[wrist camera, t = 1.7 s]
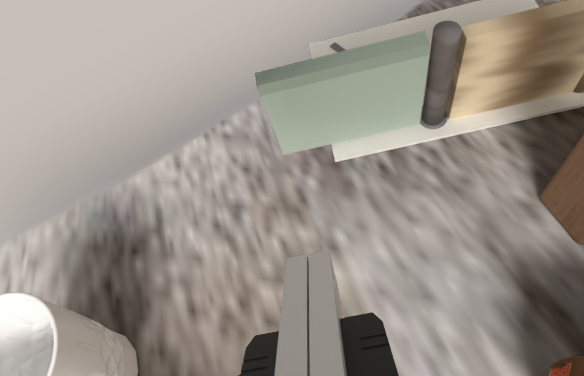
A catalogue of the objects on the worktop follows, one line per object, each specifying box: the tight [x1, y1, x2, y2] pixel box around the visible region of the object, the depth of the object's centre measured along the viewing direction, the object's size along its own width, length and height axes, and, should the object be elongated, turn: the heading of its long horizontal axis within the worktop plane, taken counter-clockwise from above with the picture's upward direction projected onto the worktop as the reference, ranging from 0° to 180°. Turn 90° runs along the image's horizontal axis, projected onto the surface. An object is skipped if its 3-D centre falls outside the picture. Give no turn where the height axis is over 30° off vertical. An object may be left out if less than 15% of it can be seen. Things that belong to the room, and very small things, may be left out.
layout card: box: [308, 0, 584, 162], centre depth 39 cm, size 22×14×1 cm, turn 99°
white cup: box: [0, 292, 138, 376], centre depth 27 cm, size 8×8×10 cm
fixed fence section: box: [422, 0, 584, 126], centre depth 32 cm, size 14×2×10 cm, turn 99°
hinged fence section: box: [255, 31, 430, 155], centre depth 33 cm, size 12×1×9 cm, turn 99°
